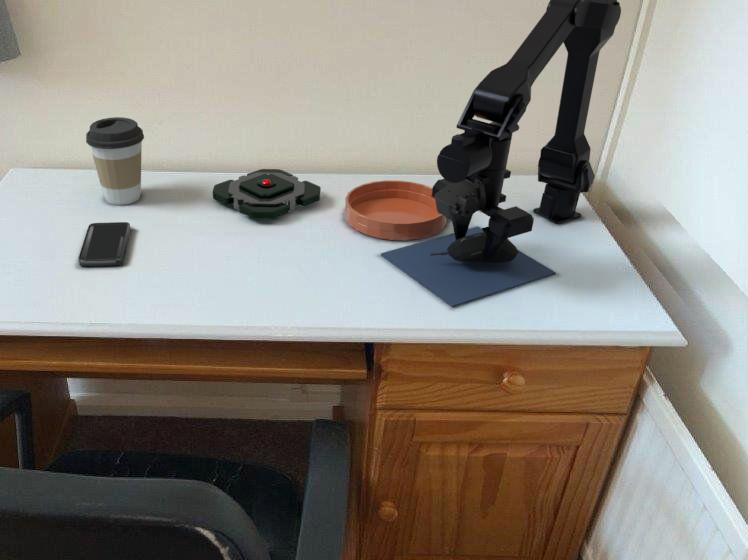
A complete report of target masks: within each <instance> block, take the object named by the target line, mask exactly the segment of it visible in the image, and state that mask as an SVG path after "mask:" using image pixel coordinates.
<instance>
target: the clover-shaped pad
mask: <svg viewBox="0 0 748 560" xmlns="http://www.w3.org/2000/svg"><path fill="white" fill-rule="evenodd" d="M211 195H212V199H213V200H214V201H216V202H219V203H220V204H223V205H224V206H229V205H233V208H234V209H235V210H237V211H239V213H240V214H243V215H244V216H246V217H249V218H250V219H253V220H274V219H278V218H279V217H282V216H285V215H287V214H290V212H294V211H296V209H297V207H298V206H301V207H307V206H311V205H313V204H315V203H317V202H320V201H321V186H320V185H317V184H315V183H313V182H311V181H309V180H302V181H301V180H299V177H298V176H296V175H293V174H292V173H291V172H287V171H286V170H284V169H280V168H261V169H257V170H255V171H251V172H249V173H246V175H240V176H238V178H237V179H235V180H234V179H227V180H224V181H222V182H219V183H216V184H214V186H213V188H212V191H211Z"/></svg>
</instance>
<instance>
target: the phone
mask: <svg viewBox="0 0 748 560" xmlns="http://www.w3.org/2000/svg"><path fill="white" fill-rule="evenodd" d="M131 230H132V229H131V224H130V222H127V221H119V222H118V221H117V222H113V221H112V222H111V221H110V222H93V223H92V222H91V223H89V224H88V226H87V230H86V233H85V237H84V240H83V243H82V245H81V248H80V252H79V256H78V258H77V259H78V264H79V266H80V267H82V268H84V267H85V268H88V267H118V266H121V265H123V264H124V263H125V262H124V261H125V258H126V253H127V247H128V243H129V240H130V234H131Z"/></svg>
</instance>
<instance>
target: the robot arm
mask: <svg viewBox="0 0 748 560" xmlns="http://www.w3.org/2000/svg"><path fill="white" fill-rule="evenodd" d="M621 14H622V7H621V3H620V1H618V0H549V2H548V4H547V6H546V9H545V12H544V13H543V15H542V16H541V17H540V19H539V20H538V22H537V23H536V24H535V25H534V27H533V29H532V30H531V31H530V32H529V33H528V35H527V36H526V37H525V39H524V40H523V42H522V43H521V44H520V45H519V46H518V48H517V49H516V50H515V52H514V54H513V55H512V56H511V57H510V59H509V60H508V61H507V62H506V63H505V64H503V65H501V66H498V67H496V68H494V69H492V70H490V72H488V74H487V75H486V76H485V77H484V78H483V79H482V80H481V81H480V82H479V83H478V84H477V86H476V87H474V89H473V91H472V93H471V95H470V97H469V99H468V101H467V103H466V105H465V106H464V109H463V111H462V113H461V116H460V117H459V119H458V121H457V124H456V127H455V128H456V129H458V130H462V131H464V132H461V133H458V134H455V135H452V137H451V139H450V140H451V141H450V143H449V144H447V145H445V146H444V147H442V149H441V150H440V151H439V153H438V155H437V157H436V166H437V170H438V172H439V175H440V176H441V177H442V179H438V180H436V182H435V183H434V184H433V185H432V188H433V189H432V197H433V198H435V202H436V207H437V212H438V213H439V214H442V215H444V216H445V217H447V220H449V221H451V223H452V228H453V233H454V234H455V239H456V240H457V239H460V238H463V237H465V236H466V233H467V230H468V229H469V227H470V224H471V221H472V218H473V215H474V214H475V213H476V212H479V213H482V214H484V215H485V216H487V217H489V218H488V224H487V226H483V227H482V228H481V229H482V230H483V231H484V232H485V234H486V242H485V249H484V261H489V260H490V259H491V258H492V257H493V256H494V254H495V253H496V252H497V250H498V249H499V248H500V246H501V245H502V244H503V243H504V241H505V240H506V239H509V238H513V237H516V236H519V235H520V236H521V235H523V234H526V233H529V232H532V231H533V227H534V223H535V217H534V216H533V215H532V214H531V213H530V212H528V211H526V210H524V209H523V208H520V207H519V206H512V207H508V208H502V207H500V204H501V203H506V200H507V195H506V194H504V193H502V192H503V187H504V181H505V180H506V179H510V178H511V174H512V171H511V170H509V169H507V165H508V160H509V154H510V149H511V144H512V143H511V142H512V140H513V133H516V132H518V131H519V130H520V125H519V124H518V123H519V122H520V121H521V119H522V117H523V116H524V114H525V113H526V111H527V107H528V106H529V104H530V102H531V100H532V87H533V85H534V83H535V82H536V80H537V79H538V77H539V76H540V75H541V73H542V72H543V70H545V68H546V66H547V65H548V64H549V62H550V61H551V60H552V59H553V57H554V56H555V54H556V53H557V52H558V50H559V49H560V47H561V46H562V45H564V48H565V49H566V52H567V57H566V62H565V69H564V74H563V75H564V76H563V81H562V87H561V93H560V99H559V106H558V112H557V117H556V118H557V119H556V124H555V131H554V135H553V136H552V137H551V138H550V139H549V141H548V142H547V143H546V144H545V145H544V146H542V148H541V149H540V153H539V154H540V155H539V159H538V163H537V182H539V183H543V184H545V187H544V191H543V192H542V195H541V200H540V204H539V207H535V208H533V210H532V212H533V213H534V214H537V215H538V216H540V217H542V218H544V219H545V220H548V221H549V222H552V223H553V224H556V225H558V224H562V223H566V222H569V221H572V220H576V219H579V218H581V217H582V214H581V213H580V212H578V211H577V206H578V203H579V199H580V195H581V194H582V193H589V192H590V189H591V187H592V185H593V183H594V180H595V173H594V170H593V167H592V165H591V162H590V159H591V150H592V149H591V146H590V144H589V141H588V139H587V137H586V135H585V130H586V126H587V119H588V115H589V108H590V104H591V98H592V93H593V88H594V83H595V82H594V81H595V77H596V72H597V67H598V62H599V57H600V51H601V50H602V49H603V48H604V46H605V45H606V44H607V43H608V42H609V40H610V39H611V38H612V37H613V36H614V34H615V30H616V27H617V25H618V23H619V21H620V18H621ZM474 117H476V118H477V119H475V118H474ZM478 119H482V120H486V121H489V122H486V121H482V120H478Z"/></svg>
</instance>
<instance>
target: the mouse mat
mask: <svg viewBox="0 0 748 560" xmlns="http://www.w3.org/2000/svg"><path fill="white" fill-rule="evenodd" d="M480 232H484V231H483V230H482V228H481V227H480V226H473V227H470V228H468V230H467V233H466V236H468V235H472V234H476V233H480ZM454 241H456V239H455V234H454V232H453V233H448V234H445V235H441V236H438V237H434V238H431V239H428V240H427V239H426V240H423V241H420V242H417V243H413V244H410V245H406V246H403V247H398V248H396V249H395V248H394V249H391V250H388V251H385V252H381V253H380V256H381V257H383V259H385V260H386V261H388V262H389V263H391V264H392V265H393V266H395V267H396V268H398V269H399V270H400V271H401V272H403V273H404V274H406V275H407V276H408V277H409V278H411V279H412V280H414V281H416V282H417V283H418V284H419V285H421V286H422V287H423V288H425V289H426V290H427V291H429V292H430V293H432V294H433V295H434V296H436V297H437V298H438V299H440V300H441V301H442V302H444V303H445V304H447V305H448V306H450V307H451V308H456V307H459V306H462V305H466V304H468V303H471V302H474V301H478V300H480V299H483V298H484V299H485V298H486V297H490V296H494V295H495V294H500V293H502V292H505V291H508V290H509V291H510V290H511V289H515V288H518V287H521V286H524V285H527V284H530V283H534V282H537V281H539V280H542V279H545V278H548V277H551V276H555V275H556V274H557V272H556V271H554V270H553V269H551V268H550V267H548V266H547V265H546V266H545V265H544V264H543V263H540V261H537V260H536V259H534V258H533V257H531V256H529V255H527V254H526V253H524V252H522V251H520V250H519V249H517V250H518V252H519V253H518V254H517V256H516V257H515V258H514V259H513V260H511V261H508V262H503V263H463V262H460V261H456V260H454V259H453V258H452V257H451V256H449V254H447V255H446V254H445V255H431V256H430V253H439V252H441V251H448V250H447V248H448V247H449V246H450V244H451V243H453V242H454Z"/></svg>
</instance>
